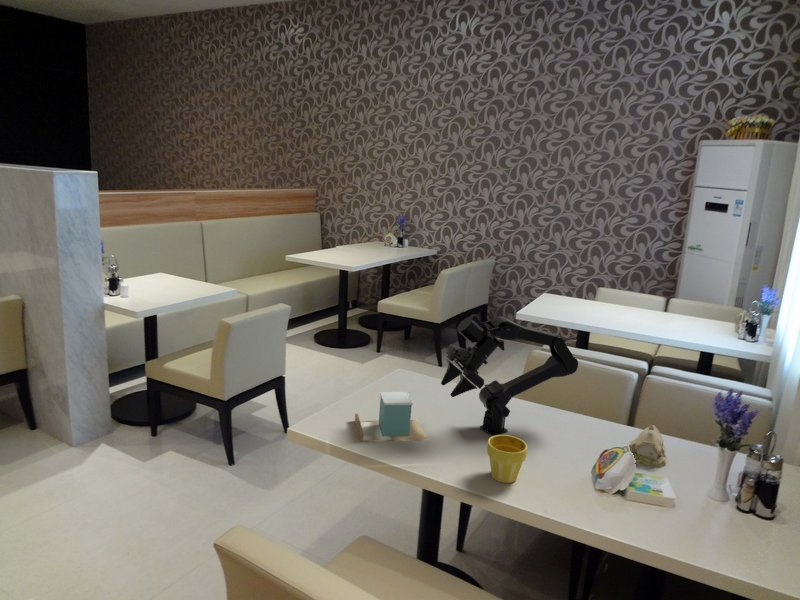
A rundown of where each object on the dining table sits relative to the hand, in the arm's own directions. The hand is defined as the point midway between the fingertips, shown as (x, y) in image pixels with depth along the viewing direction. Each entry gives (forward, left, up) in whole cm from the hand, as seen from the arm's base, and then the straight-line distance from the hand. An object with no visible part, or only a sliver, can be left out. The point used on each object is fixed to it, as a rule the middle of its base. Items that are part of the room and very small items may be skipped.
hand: (446, 390), depth 174 cm
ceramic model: (-44, +41, -14) cm, 62 cm away
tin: (+13, -7, -13) cm, 20 cm away
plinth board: (+14, -8, -14) cm, 21 cm away
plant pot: (+3, +28, -14) cm, 32 cm away
